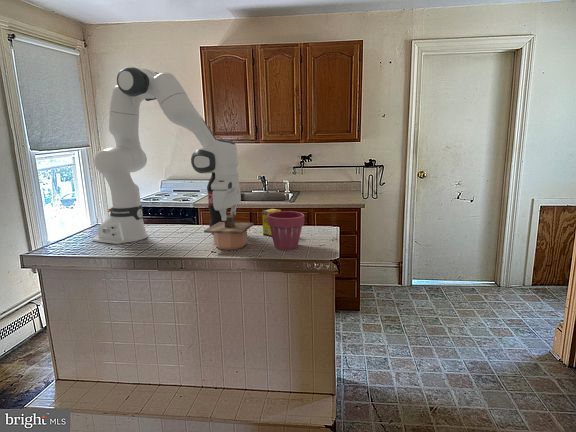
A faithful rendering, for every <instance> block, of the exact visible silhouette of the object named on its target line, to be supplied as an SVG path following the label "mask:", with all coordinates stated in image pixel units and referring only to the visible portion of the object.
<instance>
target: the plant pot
mask: <svg viewBox="0 0 576 432" xmlns="http://www.w3.org/2000/svg"><path fill="white" fill-rule="evenodd" d="M267 224H268V225H269V226H270V230H271V234H272V237H271V238H272V241H273V242H272V243H273V245H274V248H276V249H277V250H283V251H288V250H295V249H297V248H298V246H299V242H300V237H301V233H302V227H303V226H304V225H305V214H304V213H302V212H300V211H292V210H281V211H280V212H273V213H269V214H268V215H267Z"/></svg>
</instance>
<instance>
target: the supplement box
mask: <svg viewBox="0 0 576 432" xmlns="http://www.w3.org/2000/svg"><path fill="white" fill-rule="evenodd" d="M280 211H282V209H276V208H270V209H266V210H265V209H263V210H262V212H261V213H262V236H265V237H266V236H267V237H271V238H272V234H271V230H270V226H269V225H268V224H267V215H268V214H269V213H273V212H280Z"/></svg>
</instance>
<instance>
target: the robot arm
mask: <svg viewBox="0 0 576 432" xmlns="http://www.w3.org/2000/svg"><path fill="white" fill-rule="evenodd" d="M116 84H117V85H115V86H114V87H113V89H112V93H111V96H110V102H109V116H108V117H109V118H108V131H109V133H110V134H111V135H112V136H113V138H114V141H115V145H116V146H115V147H107V148H104V149H101V150H99V151H97V153H96V154H95V156H94V160H93V163H94V167H95V168H96V170H97V171H98V172H99V173H100V174H101V175H102V176H104V179H105V180H106V182H107V184H108V187H109V190H110V196H111V201H112V202H111V203H112V207H110V208H107V213H110V214H109V216H108V217H107V218H106V219H105V220H103V222H101V223H100V224H99V226H98V227H97V235H96V236H93V238H92V242H97V243H99V242H100V243H107V244H114V245H118V244H124V243H131V242H137V241H142V240H145V239H146V238H148V237H149V236H148V233H147V231H146V226H145V223H144V219H143V215H144V214H143V213H144V212H143V205H142V204H141V203H142V202H141V194H140V188H139V186H138V185H137V184H136V183H135V182H134V180H133V178H132V176H131V173H135V172H138V171H140V170H142V169H143V168H145V166H146V165H147V161H148V157H147V154H146V152H145V151H144V150H143V147H142V146H141V143H140V137H139V136H140V135H139V128H140V127H139V124H140V123H139V122H140V121H139V120H140V106H141V102H143V101H144V100H145V101H147V102H149V101H154V100H156V101H157V103H158V104H159V107H160V109H161V110H162V112H163V114H164V115H165V116H166V118H167V119H168V120H169V121H170V122H171V123H173V124H175V125H177V126H179V127H182V128H184V129H187V130H189V131H190V132H191V133H192V134H193V135H194V136H195V137H196V138H197V141H199V143H200V145H201V146H202V148H199V149H196V150H194V151H193V153H192V154H191V157H190V164H191V167H192V168H193V170H194V171H195V172H197V173H199V174H205V175H206V174H212V173H213V172H215V180H214V182H213V183H212V184H211V189H212V190H213V194H212V195H213V206H214V209H215V210H217V211H220V214H221V219H222V221H226V220H227V216H228V215H226V209H227V210H228V209H230V211H229V212H230V215H229V216H234V217H235V216H236V214H237V207H238V205H237V204H239V203H240V202H241V200H242V197H241V187H240V174H239V170H238V164H239V156H238V148H237V144H236V142H234V141H233V140H229V139H225V138H216V137H215V134H213V132H212V131H211V129H210V127H209V126H208V124H207V123H206V121H205V120H204V118H203V117H202V115H200V113H199V111H197V109H196V108H195V106H194V104H193V102H192V100H191V99H190V97H189V96H188V94H187V92H186V90H185V88H184V87H183V86H182V85H181V83H180V82H179V80H178V79H177V77H175V75H174V74H172V73H171V72H161V73H159V72H158V71H157V72H156V71H152V70H149V69H147V68H138V67H135V66H127V67H126V66H125V67H123V68H121V69H120V70H119V71H118V73H117V76H116Z"/></svg>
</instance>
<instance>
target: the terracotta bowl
mask: <svg viewBox="0 0 576 432" xmlns="http://www.w3.org/2000/svg"><path fill="white" fill-rule="evenodd" d="M247 243H248V230H246V231H245V232H244V233H242V234H232V233H213V244H214V246H216V248H217V249H219V250H223V251H225V250H226V251H232V250H239V249H242V248H244V247H245V246H246V244H247Z"/></svg>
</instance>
